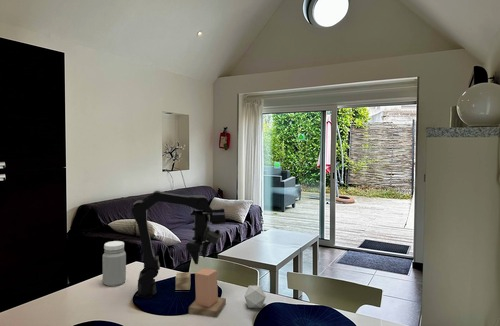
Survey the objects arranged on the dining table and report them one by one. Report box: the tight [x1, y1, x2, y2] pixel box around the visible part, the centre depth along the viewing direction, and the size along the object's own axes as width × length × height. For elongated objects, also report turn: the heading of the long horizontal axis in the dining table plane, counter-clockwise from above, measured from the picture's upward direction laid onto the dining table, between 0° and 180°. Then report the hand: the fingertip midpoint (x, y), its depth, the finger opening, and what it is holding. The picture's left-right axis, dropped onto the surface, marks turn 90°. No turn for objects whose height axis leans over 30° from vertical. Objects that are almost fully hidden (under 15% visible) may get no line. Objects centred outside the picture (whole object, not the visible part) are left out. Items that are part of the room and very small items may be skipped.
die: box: [244, 285, 266, 309], centre depth 138 cm, size 8×9×10 cm
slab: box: [188, 296, 227, 318], centre depth 135 cm, size 11×11×3 cm
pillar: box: [194, 267, 219, 307], centre depth 135 cm, size 6×6×12 cm
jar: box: [102, 240, 127, 287], centre depth 158 cm, size 10×10×18 cm
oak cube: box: [175, 271, 191, 290], centre depth 154 cm, size 6×6×6 cm
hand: (200, 260), depth 151 cm, fingers open, 9 cm apart
